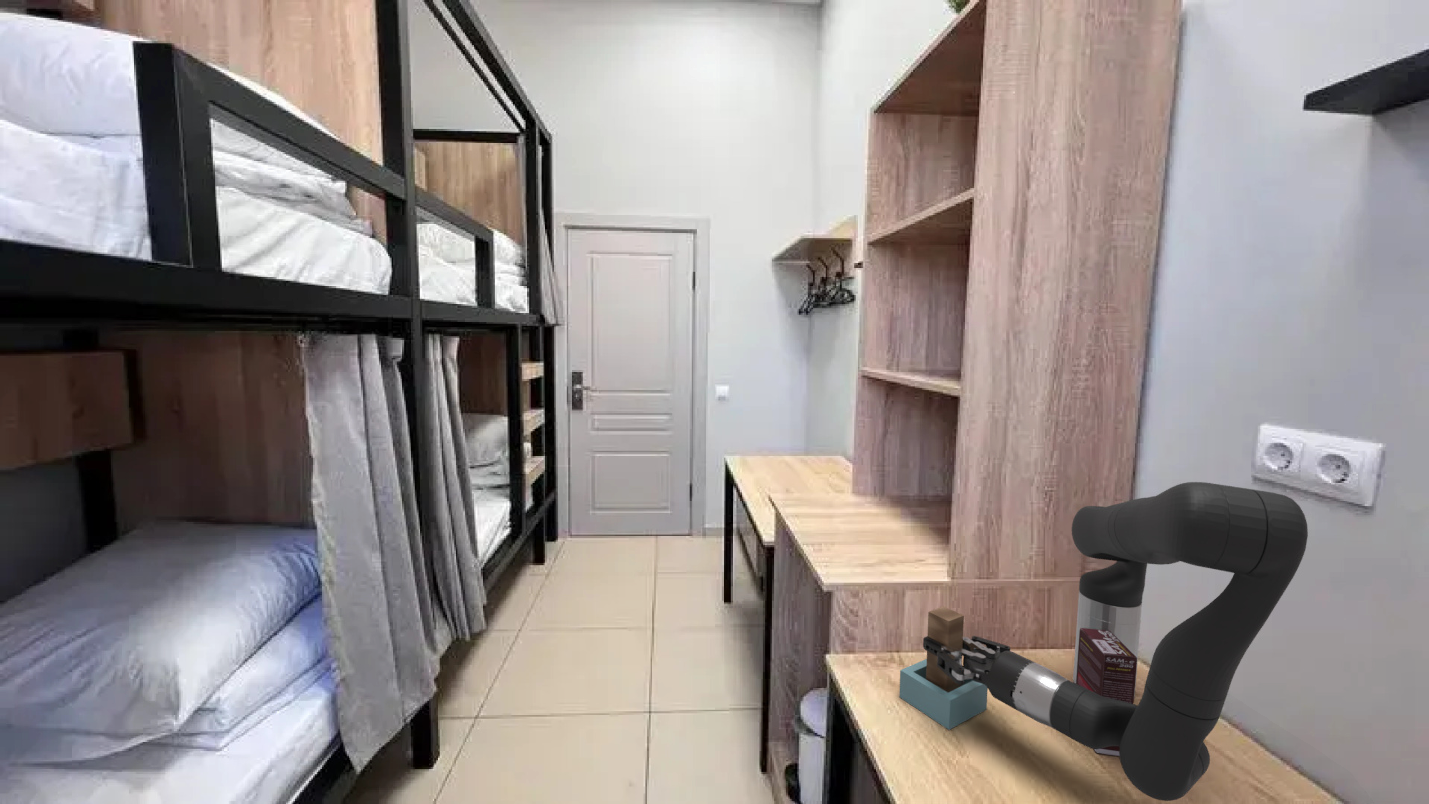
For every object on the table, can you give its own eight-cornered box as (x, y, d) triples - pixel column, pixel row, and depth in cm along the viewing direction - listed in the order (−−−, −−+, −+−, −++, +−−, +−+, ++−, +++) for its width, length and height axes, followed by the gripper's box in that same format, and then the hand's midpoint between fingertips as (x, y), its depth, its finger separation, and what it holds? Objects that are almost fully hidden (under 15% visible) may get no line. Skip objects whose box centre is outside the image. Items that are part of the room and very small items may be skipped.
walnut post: (925, 689, 98) (928, 611, 96) (940, 682, 100) (943, 606, 98) (945, 701, 94) (948, 621, 93) (960, 693, 96) (963, 615, 95)
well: (899, 697, 99) (900, 670, 98) (936, 680, 104) (937, 654, 104) (948, 729, 90) (950, 700, 90) (986, 709, 95) (987, 681, 95)
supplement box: (1131, 759, 84) (1139, 658, 83) (1095, 754, 85) (1103, 654, 84) (1104, 721, 92) (1110, 629, 91) (1071, 717, 93) (1077, 626, 92)
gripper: (1058, 651, 87) (959, 608, 102) (1004, 679, 80) (906, 628, 94) (1055, 697, 88) (957, 647, 102) (1001, 728, 80) (904, 670, 95)
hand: (933, 638), depth 98 cm, fingers closed on walnut post, 4 cm apart
